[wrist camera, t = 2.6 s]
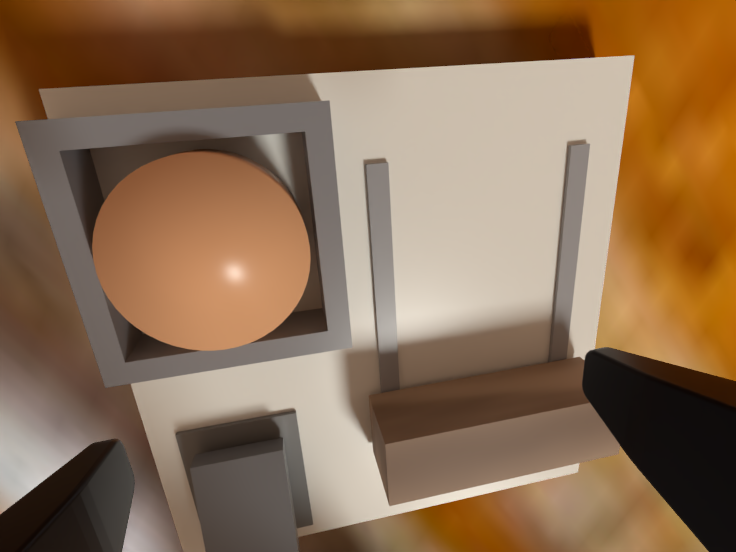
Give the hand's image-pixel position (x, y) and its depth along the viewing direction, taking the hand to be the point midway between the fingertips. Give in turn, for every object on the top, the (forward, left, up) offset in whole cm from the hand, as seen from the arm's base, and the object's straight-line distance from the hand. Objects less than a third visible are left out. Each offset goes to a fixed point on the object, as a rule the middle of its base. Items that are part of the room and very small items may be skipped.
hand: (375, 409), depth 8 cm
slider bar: (-7, -6, -8) cm, 13 cm away
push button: (+2, +4, -8) cm, 9 cm away
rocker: (-9, +4, -7) cm, 13 cm away
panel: (-3, -2, -11) cm, 12 cm away
